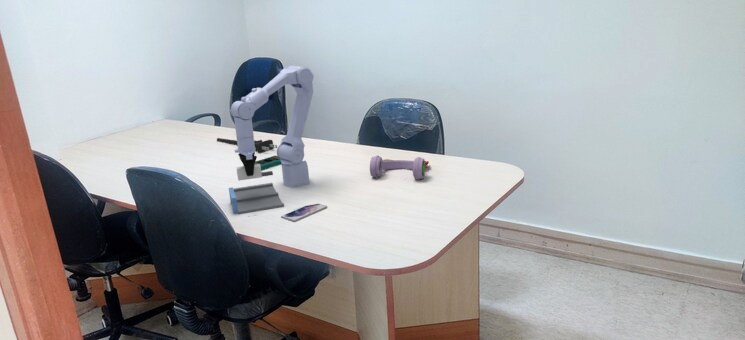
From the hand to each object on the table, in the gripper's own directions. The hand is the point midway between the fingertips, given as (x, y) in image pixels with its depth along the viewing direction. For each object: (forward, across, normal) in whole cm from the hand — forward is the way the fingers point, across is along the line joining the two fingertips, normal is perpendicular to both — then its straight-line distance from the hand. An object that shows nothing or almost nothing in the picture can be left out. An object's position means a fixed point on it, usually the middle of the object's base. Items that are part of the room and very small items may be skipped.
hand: (249, 174), depth 191 cm
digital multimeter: (+10, -37, +11) cm, 39 cm away
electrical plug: (+10, -73, +5) cm, 74 cm away
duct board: (+9, +3, +1) cm, 10 cm away
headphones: (+9, -3, +58) cm, 59 cm away
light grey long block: (+1, 0, +2) cm, 2 cm away
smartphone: (+10, +21, +14) cm, 27 cm away
